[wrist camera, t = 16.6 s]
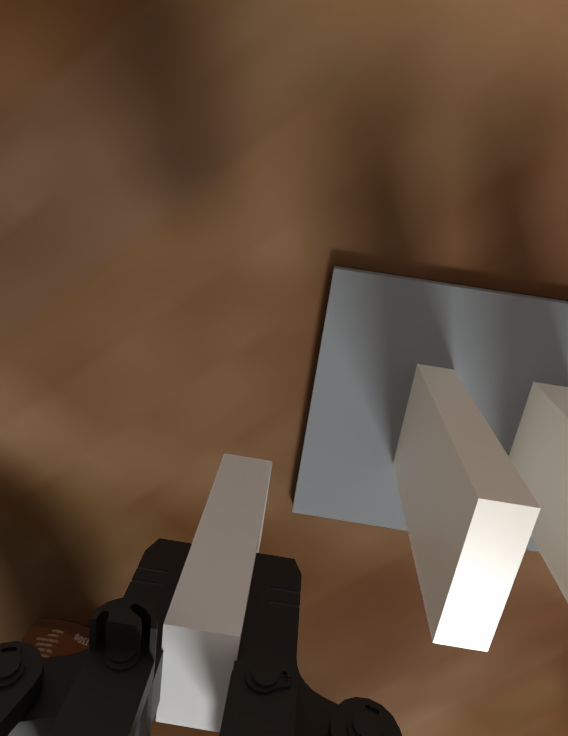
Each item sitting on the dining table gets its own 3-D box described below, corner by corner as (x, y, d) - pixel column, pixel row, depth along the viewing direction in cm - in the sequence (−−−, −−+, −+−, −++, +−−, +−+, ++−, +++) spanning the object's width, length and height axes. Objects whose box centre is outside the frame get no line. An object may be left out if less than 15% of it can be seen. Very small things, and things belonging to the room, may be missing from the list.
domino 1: (392, 464, 25) (432, 643, 16) (417, 363, 23) (478, 498, 14) (427, 469, 25) (487, 651, 16) (454, 369, 23) (540, 508, 14)
